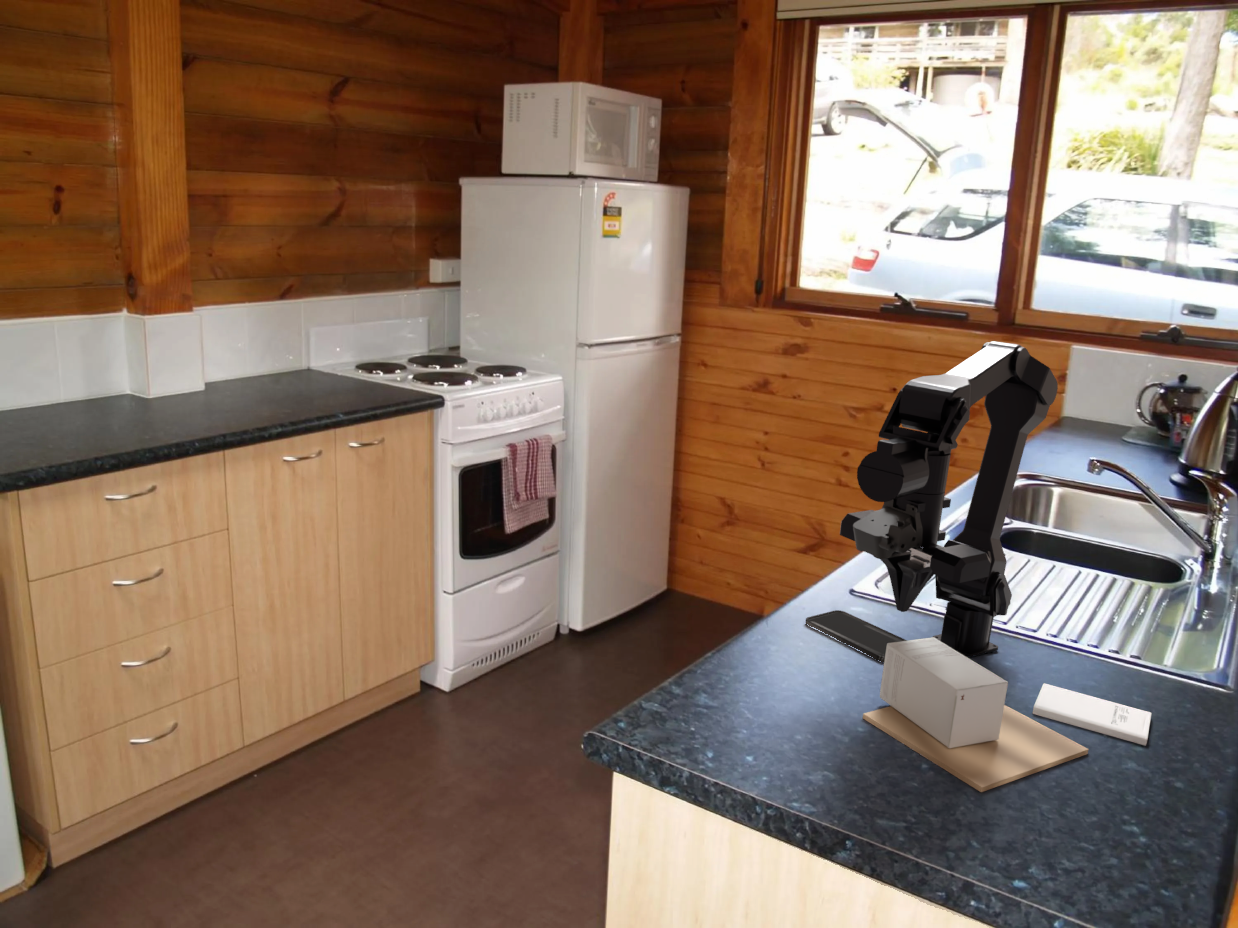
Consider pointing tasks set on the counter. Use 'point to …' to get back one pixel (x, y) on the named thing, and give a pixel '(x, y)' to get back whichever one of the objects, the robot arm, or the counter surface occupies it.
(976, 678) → the supplement box
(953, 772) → the wooden cutting board
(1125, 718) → the external hard drive
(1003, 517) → the robot arm
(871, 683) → the counter surface
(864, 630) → the phone
